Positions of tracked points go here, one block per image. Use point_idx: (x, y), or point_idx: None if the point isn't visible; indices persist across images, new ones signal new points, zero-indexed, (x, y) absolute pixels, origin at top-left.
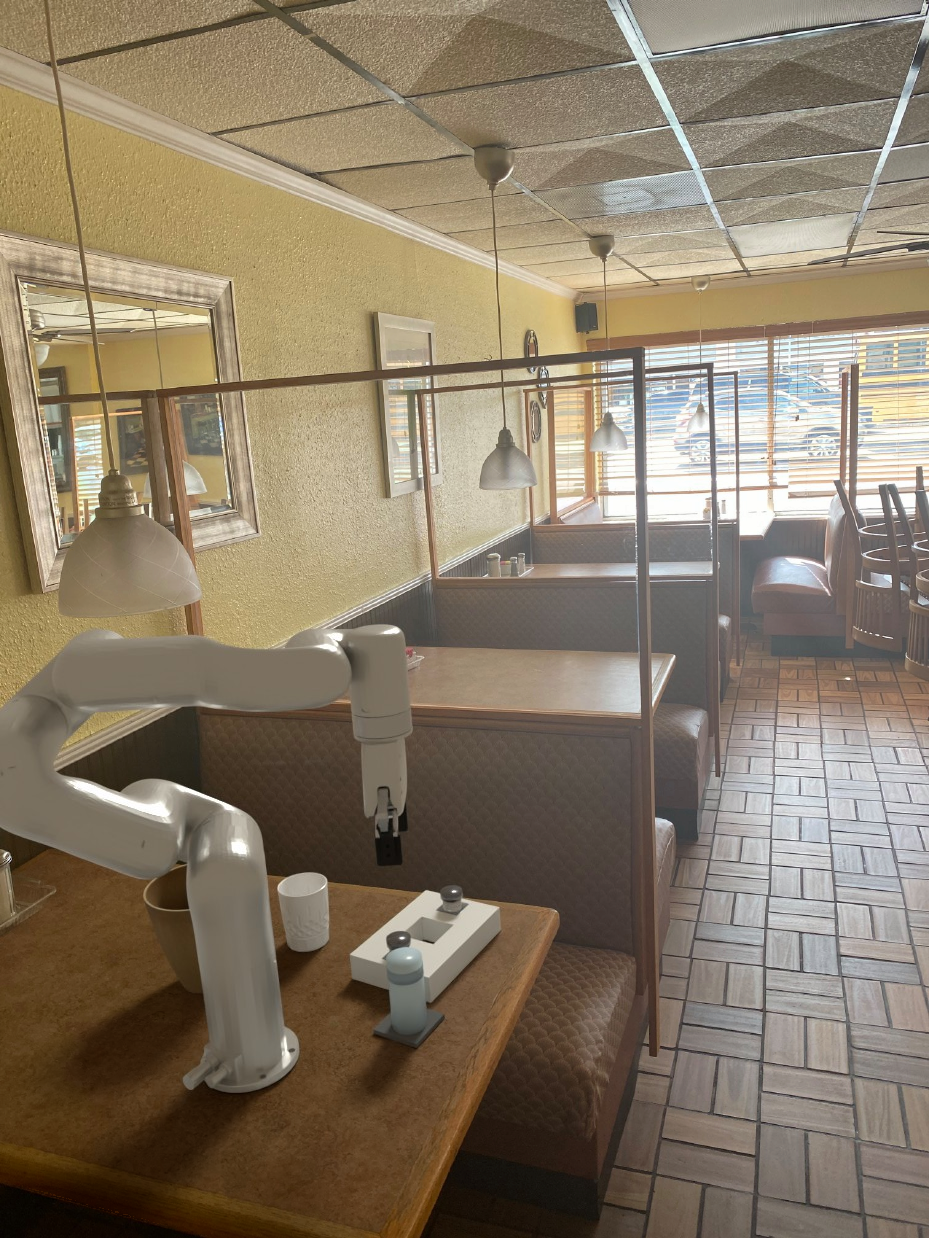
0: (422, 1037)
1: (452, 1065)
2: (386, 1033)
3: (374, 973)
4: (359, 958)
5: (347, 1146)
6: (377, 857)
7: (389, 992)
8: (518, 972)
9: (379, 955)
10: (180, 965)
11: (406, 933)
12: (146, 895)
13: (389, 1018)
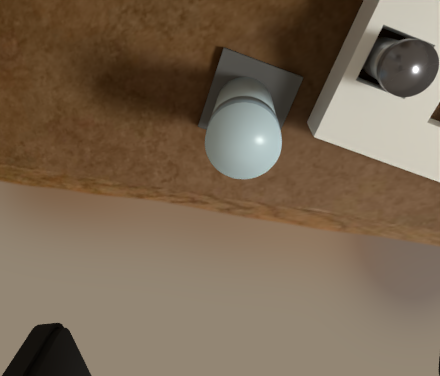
0: None
1: (172, 177)
2: (216, 73)
3: (367, 8)
4: None
5: (2, 79)
6: (17, 359)
7: (228, 94)
8: (381, 233)
9: (397, 16)
10: None
11: (425, 84)
12: None
13: (254, 68)
